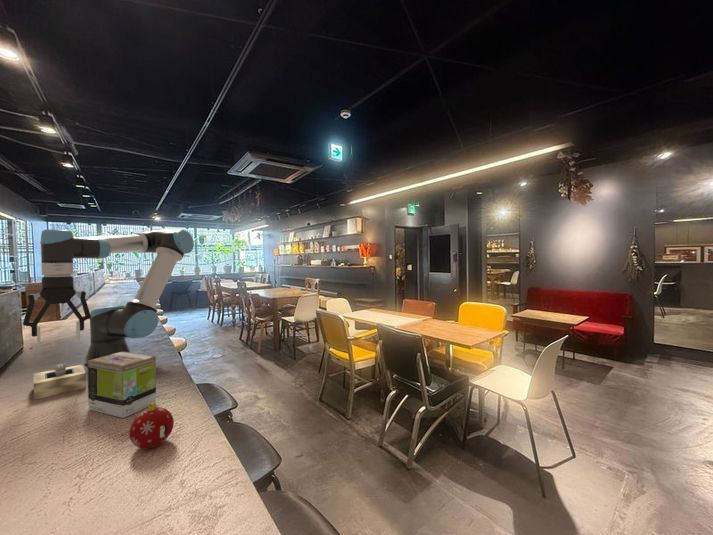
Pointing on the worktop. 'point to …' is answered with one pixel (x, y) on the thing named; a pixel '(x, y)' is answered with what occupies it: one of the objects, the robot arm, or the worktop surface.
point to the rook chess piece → (60, 369)
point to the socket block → (59, 382)
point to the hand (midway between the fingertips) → (59, 342)
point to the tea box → (121, 383)
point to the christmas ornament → (151, 427)
